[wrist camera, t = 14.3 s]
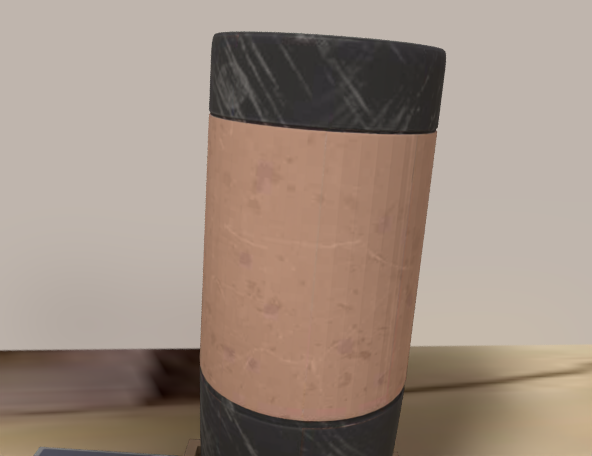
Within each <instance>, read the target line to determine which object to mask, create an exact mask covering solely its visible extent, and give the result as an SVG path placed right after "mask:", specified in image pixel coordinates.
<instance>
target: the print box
mask: <svg viewBox="0 0 592 456" xmlns="http://www.w3.org/2000/svg"><path fill="white" fill-rule="evenodd" d="M184 456H201V440H199V439H189V442H188V445H187V448H186V451H185V454H184ZM393 456H399V455H398V452H393Z"/></svg>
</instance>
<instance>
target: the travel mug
mask: <svg viewBox="0 0 592 456" xmlns="http://www.w3.org/2000/svg"><path fill="white" fill-rule="evenodd" d="M445 65H446V53H445V51H444V50H443V49H441V48H437V47H432V46H427V45H421V44H414V43H407V42H398V41H389V40H380V39H369V38H358V37H346V36H333V35H318V34H302V33H281V32H221V33H217V34H215V35H214V37H213V41H212V50H211V74H210V75H211V76H210V101H209V111H210V114H209V130H208V156H207V183H206V211H205V236H204V263H203V290H202V291H203V292H202V316H201V343H200V438H201V456H393V451H394V445H395V439H396V433H397V428H398V422H399V416H400V410H401V405H402V399H403V393H404V383H405V380H406V374H407V366H408V358H409V350H410V342H411V334H412V326H413V318H414V310H415V303H416V295H417V287H418V278H419V271H420V263H421V255H422V247H423V239H424V232H425V224H426V216H427V208H428V200H429V192H430V184H431V175H432V168H433V160H434V153H435V145H436V137H437V131H436V129H437V128H438V120H439V113H440V105H441V97H442V89H443V82H444V73H445Z"/></svg>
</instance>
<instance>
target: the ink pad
mask: <svg viewBox="0 0 592 456" xmlns="http://www.w3.org/2000/svg"><path fill="white" fill-rule="evenodd" d="M34 456H176V455H160V454H144V453H128V452H112V451H96V450H81V449H65V448H49V447H40V448H39V449H38V450H37V452H36V453H35V454H34Z"/></svg>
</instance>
